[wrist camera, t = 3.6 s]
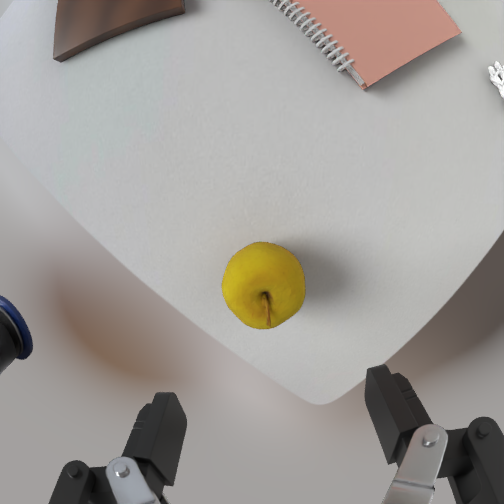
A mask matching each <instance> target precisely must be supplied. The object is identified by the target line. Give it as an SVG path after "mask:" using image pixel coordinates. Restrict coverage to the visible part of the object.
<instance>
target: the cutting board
mask: <svg viewBox="0 0 504 504" xmlns="http://www.w3.org/2000/svg"><path fill="white" fill-rule="evenodd" d="M183 13H185V7H184V0H58V5H57V13H56V22H55V34H54V51H53V59H54V60H56V61H59V62H62V61H64V60H66V59H68V58H69V57H71V56H73V55H75V54H77V53H79V52H81V51H83V50H85V49H87V48H89V47H91V46H94V45H96V44H98V43H100V42H102V41H105V40H107V39H109V38H112V37H114V36H116V35H119V34H121V33H124V32H127V31H129V30H132V29H135V28H137V27H140V26H143V25H146V24H149V23H152V22H155V21H158V20H162V19H165V18H169V17H172V16H176V15H179V14H183Z"/></svg>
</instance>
